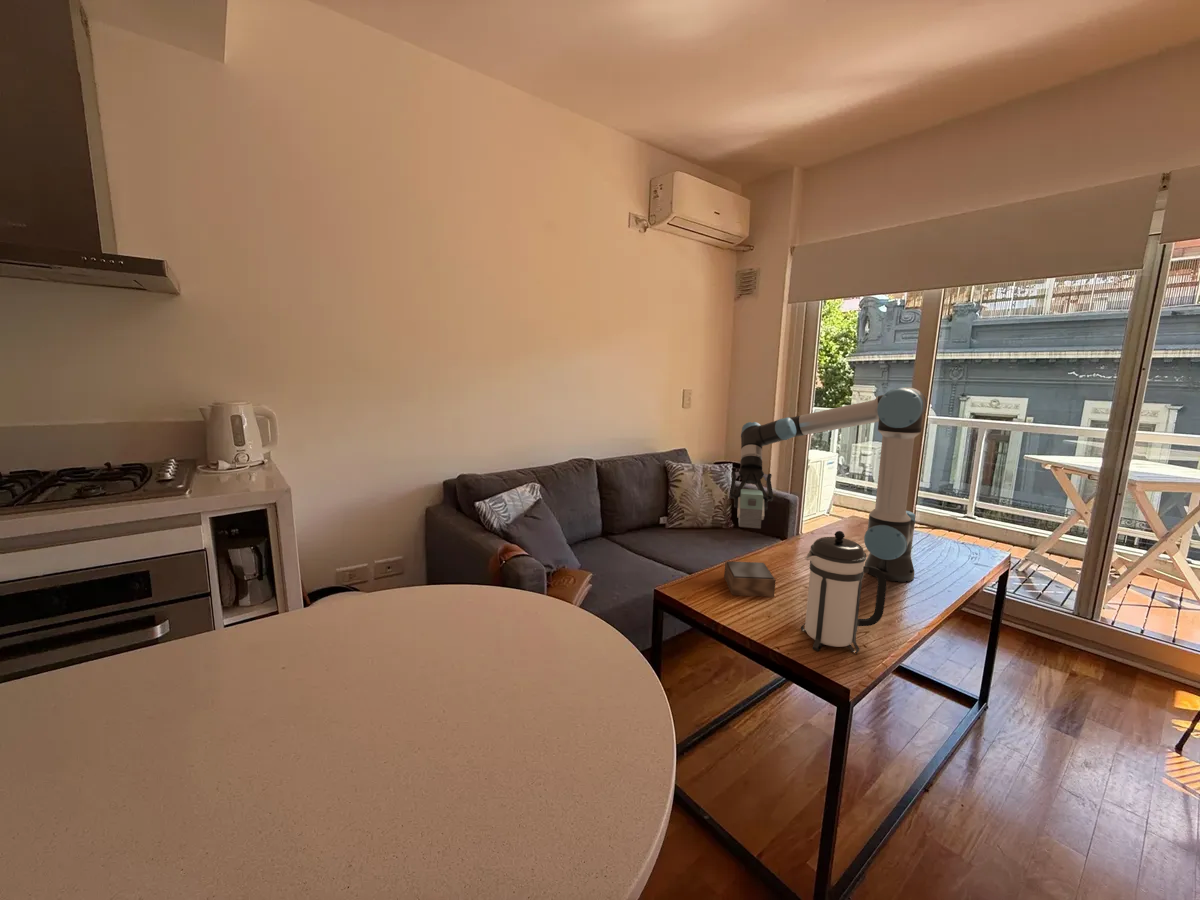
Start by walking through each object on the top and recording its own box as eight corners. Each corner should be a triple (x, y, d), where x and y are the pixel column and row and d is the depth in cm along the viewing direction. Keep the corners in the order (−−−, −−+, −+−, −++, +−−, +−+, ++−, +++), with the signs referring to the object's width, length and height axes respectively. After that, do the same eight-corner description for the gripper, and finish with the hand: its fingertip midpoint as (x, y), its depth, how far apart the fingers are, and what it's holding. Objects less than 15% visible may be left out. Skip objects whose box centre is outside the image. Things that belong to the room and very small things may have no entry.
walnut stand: (763, 579, 168) (764, 562, 167) (774, 596, 156) (775, 578, 155) (724, 577, 169) (725, 560, 168) (731, 594, 156) (733, 576, 155)
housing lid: (760, 504, 173) (761, 490, 172) (762, 511, 165) (763, 496, 164) (739, 502, 175) (740, 488, 174) (740, 509, 166) (741, 494, 166)
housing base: (759, 522, 174) (760, 504, 173) (760, 528, 168) (762, 509, 166) (738, 520, 176) (739, 502, 175) (739, 526, 169) (740, 508, 168)
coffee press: (845, 666, 120) (858, 547, 115) (786, 637, 132) (796, 528, 127) (880, 644, 130) (894, 533, 125) (822, 618, 143) (832, 517, 137)
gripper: (779, 467, 181) (780, 524, 168) (722, 464, 186) (719, 519, 173) (781, 456, 175) (783, 514, 162) (723, 452, 180) (720, 508, 167)
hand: (750, 516), depth 168 cm, fingers closed on housing base, housing lid, 7 cm apart
